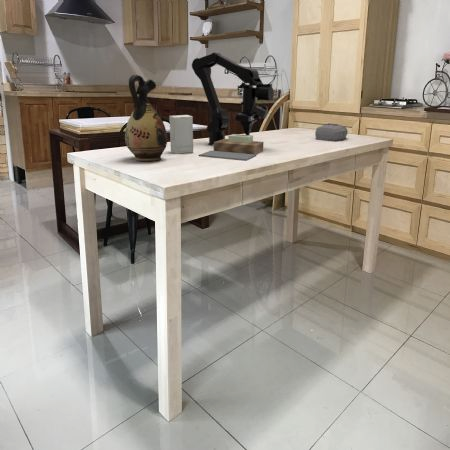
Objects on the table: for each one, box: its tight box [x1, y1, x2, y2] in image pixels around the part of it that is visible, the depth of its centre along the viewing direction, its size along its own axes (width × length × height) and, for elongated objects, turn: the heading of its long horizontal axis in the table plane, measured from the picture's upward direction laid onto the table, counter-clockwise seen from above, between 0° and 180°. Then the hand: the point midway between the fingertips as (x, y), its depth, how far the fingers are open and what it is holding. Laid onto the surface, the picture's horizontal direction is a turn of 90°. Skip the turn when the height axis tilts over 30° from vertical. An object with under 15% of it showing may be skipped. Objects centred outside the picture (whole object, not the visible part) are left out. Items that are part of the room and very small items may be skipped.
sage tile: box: [227, 133, 254, 143], centre depth 180 cm, size 9×6×2 cm, turn 68°
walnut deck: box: [213, 138, 264, 156], centre depth 179 cm, size 18×12×4 cm, turn 68°
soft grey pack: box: [314, 122, 348, 142], centre depth 224 cm, size 15×8×20 cm
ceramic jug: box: [124, 74, 168, 162], centre depth 152 cm, size 17×15×30 cm
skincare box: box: [169, 114, 194, 154], centre depth 172 cm, size 8×6×15 cm
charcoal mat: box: [198, 150, 257, 162], centre depth 169 cm, size 20×12×1 cm, turn 68°
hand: (247, 136), depth 187 cm, fingers closed
